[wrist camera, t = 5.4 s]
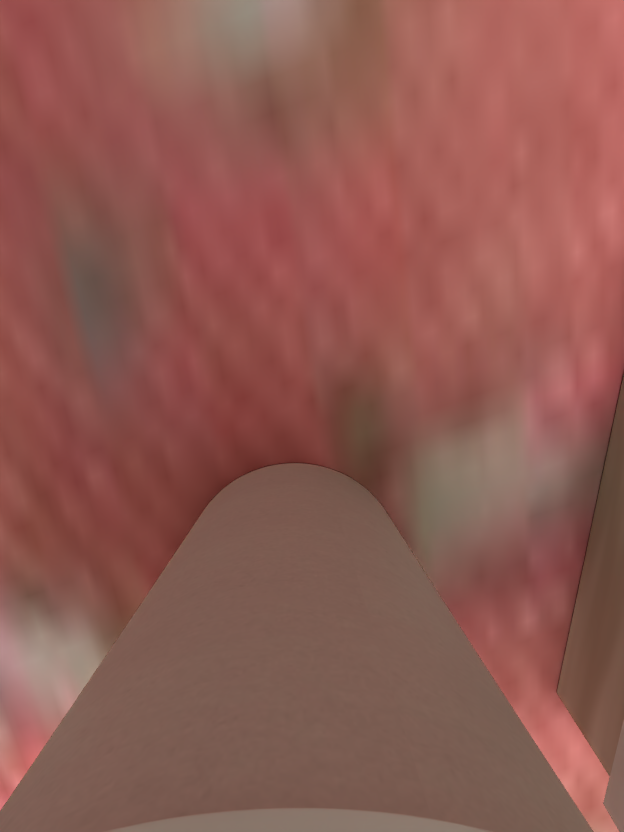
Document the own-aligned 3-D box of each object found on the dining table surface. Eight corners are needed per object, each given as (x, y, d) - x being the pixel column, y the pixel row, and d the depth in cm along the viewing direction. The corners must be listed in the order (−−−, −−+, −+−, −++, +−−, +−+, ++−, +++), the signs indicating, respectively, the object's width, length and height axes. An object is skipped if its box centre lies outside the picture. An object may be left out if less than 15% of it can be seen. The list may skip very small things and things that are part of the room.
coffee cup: (86, 475, 17) (-1256, 1695, 2) (394, 365, 16) (1184, 1029, 2) (208, 733, 19) (-87, 2228, 4) (485, 642, 19) (1189, 1989, 4)
